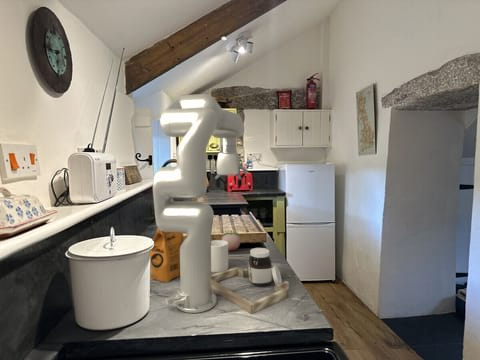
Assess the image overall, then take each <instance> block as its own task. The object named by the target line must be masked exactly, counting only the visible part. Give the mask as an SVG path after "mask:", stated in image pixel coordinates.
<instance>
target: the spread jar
mask: <svg viewBox="0 0 480 360" xmlns="http://www.w3.org/2000/svg"><path fill="white" fill-rule="evenodd" d="M249 252H250V253H249V254H250V255H249V257H248V267H247V268H248V270H249V276H248V278H249V279H248V280H249V282H250V284H251V285H253V286H255V287H265V286H268V285H270V284H271V283H272V281H274V284H275V285H278V284H280V283H283V281H282V276H281V272H280V269H279V267H278V266H277V265H274V266H272V265H273V264H272V260H271V257H270V250H269V249H268V248H265V247H255V248H251V249H250V251H249Z"/></svg>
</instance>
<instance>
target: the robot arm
mask: <svg viewBox="0 0 480 360" xmlns="http://www.w3.org/2000/svg"><path fill="white" fill-rule="evenodd" d="M159 124H160V125H159V126H160V129H161V131H162V132H163V134H164V135H166V136H168V137H169V138H170V137H171V138H180V137H182V138H181V140H180V141H179V143H178V144H177V145H178V146H177V147H176V152H175V154H176V166H163V167H160V168H158V169H157V170H156V171H155V173H154V176H153V178H152V179H153V180H152V197H153V205H154V206H153V209H154V217H155V225H156V224H157V225H156V227H157V229H158V228H159V229H160V230H161V231H163V232H174V233H183V234H186V235H187V236H186V237H185V239H183V240H184V241H183V242H182V244H181V246H180V276H179V277H180V278H179V280H180V284H179V285H180V289H177V293H175V294H174V295H173V296H169V297H166V298H165V299H164V301H165V304H166V305H167V306H169V305H172V304H173V306H174V307H176V308H177V309H179V311H182V312H185V313H187V314H188V313H189V314H196V313H198V314H199V313H202V312H206V311H209V310H210V309H213V307H215V305H217V302H218V301H217V299H218V298H217V295H216V294H215V293H214V292H212V291H213V290H212V286H211V275H212V272H211V241H212V231H213V225H214V216H215V215H214V214H215V213H214V210H213V208H212V206H211V205H210V204H208V203H205V202H202V201H174V199H200V198H202V197H204V196H205V195H206V193H207V188H208V179H207V178H208V176H207V175H208V174H207V153H206V152H207V147H208V144H209V142H210V141H211V138H212V136H213V138H216V139H219V147H217V148H216V151H217V152H218V151H219V153H217V159H216V166H214V167H212V168H211V169H210V170H209V171H210V173H211V175H212V177H214V179H215V186H216V188H217V189H220V188H221V179H220V177H221V176H236V177H237V178H238V179H237V188H238V189H241V187H242V185H243V182H242V180H243V178H245V176H246V175H247V173H248V169H247V168H245V167H243V166H241V163H240V156H239V153H238V151H237V149H238V147H237V146H238V145H237V144H238V143H237V142H238V140H237V139H238V138H241V137H242V136H244V134H245V124H244V121H243V120H242V117H241V116H240V115H239V114H238V113H236V112H233V111H229V110H226V109H224V108H222V107H221V105H220V104H219V103H218V101H217V100H216V99H215V98H214V97H213V96H212V95H210V94H207V93H206V94H205V93H198V94H195V93H194V94H184V95H182V94H181V95H180V96H178V97H176V98H175V99H174V100H172V101H171V103H170V104H168V106H166V108H165V109H164V110H163V112H162V113H161V116H160V119H159ZM215 171H216V173H215ZM241 171H243V173H242V174H241Z"/></svg>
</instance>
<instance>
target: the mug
mask: <svg viewBox="0 0 480 360" xmlns="http://www.w3.org/2000/svg"><path fill="white" fill-rule="evenodd" d="M226 270H229V250H228V242H227V241H223V240H222V239H219V240H218V239H216V240H211V273H213V274H217V273H220V272H223V271H226Z"/></svg>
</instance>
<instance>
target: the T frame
mask: <svg viewBox="0 0 480 360" xmlns="http://www.w3.org/2000/svg"><path fill="white" fill-rule="evenodd" d="M235 276H239V277H241V278H243V279H244V278H247V277H249V270H248V267H247V268H244V269H243V268H241V267H239V266H237V267H236V266H235V267H233V268H228V269H227V270H226V271H223V272H220V273H213V274H211V286H212V291H214V292H215V293H217V294H219V295H220V296H221V297H223V298H224V299H227V300H228V301H230V302H231V303H232V304H234V305H236V306H237V307H238V308H241V309H242V310H243V311H246V312H247V313H249V314H250V315H252V314H254V313H256V312H258V311H260V310H262V309H265V308H266V307H269V306H271V305H274V304H276V303H279V302H280V301H283V300H285V299H287V298H288V290H289V289H290V282H289V281H287V280H285V281H282V283H280V284H278V285H276V284H275V285H274V286H273V293H271V294H268V295H267V296H264V297H262V298H259V299H257V300H255V301H252V302H251V301H249V300H247V298H246V299H245V298H244V297H243V296H241V295H239V294H237V293H235V292H234V291H232V290H231V289H229V288H226V287H225V286H223V285H222V284H220V283H218V282H220V281H223V280H226V279H229V278H232V277H235Z"/></svg>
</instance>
